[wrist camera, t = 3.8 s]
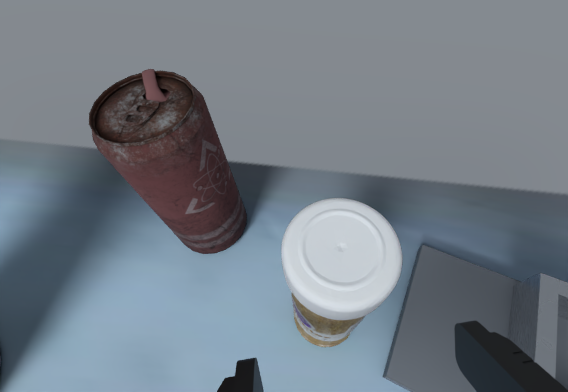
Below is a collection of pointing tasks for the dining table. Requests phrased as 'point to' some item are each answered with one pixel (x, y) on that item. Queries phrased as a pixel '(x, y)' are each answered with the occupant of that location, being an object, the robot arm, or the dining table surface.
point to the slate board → (451, 322)
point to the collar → (538, 317)
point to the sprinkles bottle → (338, 267)
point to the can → (171, 156)
